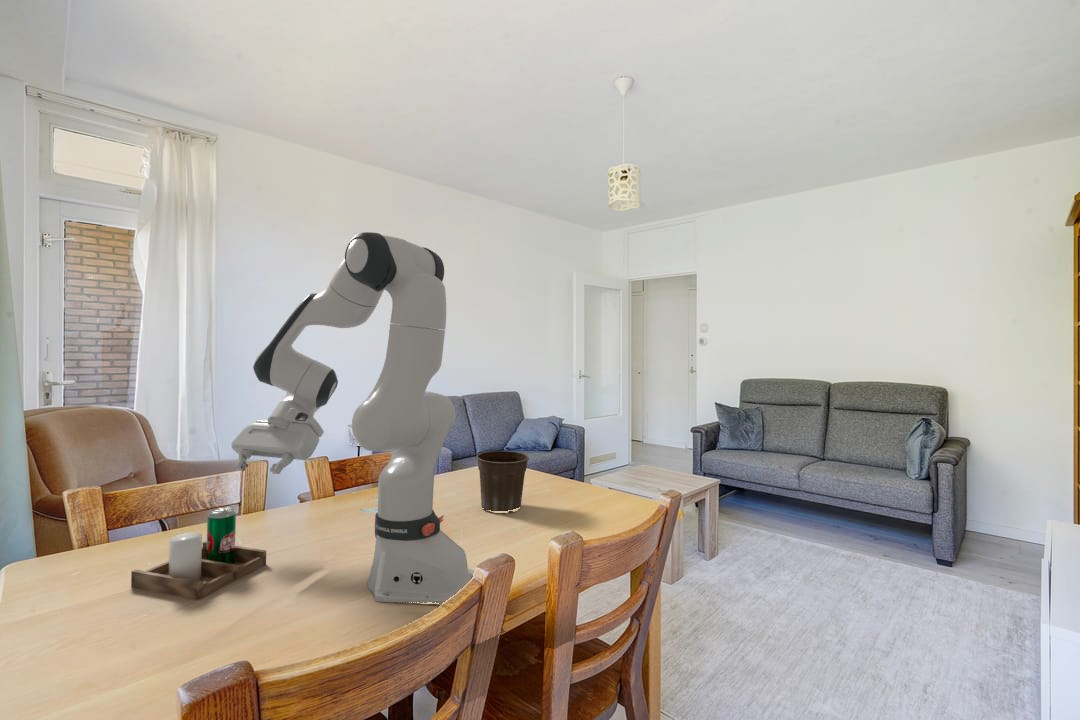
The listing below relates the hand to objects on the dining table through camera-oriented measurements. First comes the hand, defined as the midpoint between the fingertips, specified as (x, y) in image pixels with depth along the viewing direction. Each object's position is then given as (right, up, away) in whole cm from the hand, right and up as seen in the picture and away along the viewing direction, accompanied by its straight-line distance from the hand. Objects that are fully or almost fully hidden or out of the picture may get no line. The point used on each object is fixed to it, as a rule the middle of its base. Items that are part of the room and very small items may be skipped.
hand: (256, 471), depth 112 cm
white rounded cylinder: (-5, -18, -16) cm, 25 cm away
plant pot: (+52, -21, +40) cm, 69 cm away
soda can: (-3, -18, -8) cm, 20 cm away
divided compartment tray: (-4, -19, -12) cm, 23 cm away
